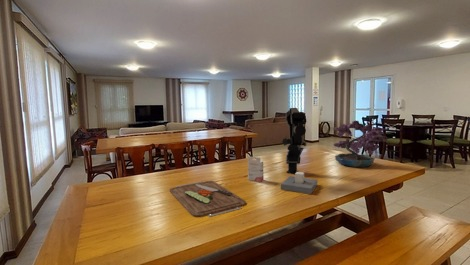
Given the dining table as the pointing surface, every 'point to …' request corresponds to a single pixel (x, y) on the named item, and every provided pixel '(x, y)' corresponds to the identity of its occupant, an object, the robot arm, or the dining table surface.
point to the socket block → (299, 185)
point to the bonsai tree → (358, 144)
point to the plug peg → (299, 177)
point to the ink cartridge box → (255, 169)
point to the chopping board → (206, 198)
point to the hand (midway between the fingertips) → (297, 160)
